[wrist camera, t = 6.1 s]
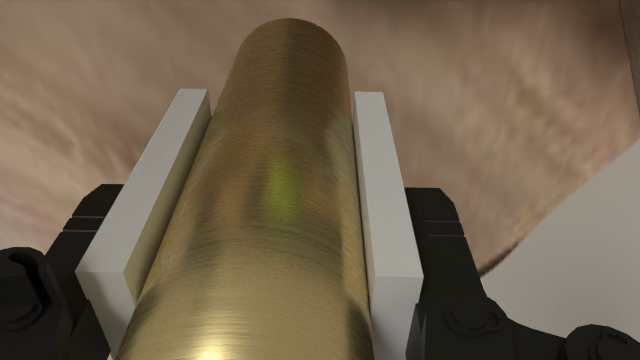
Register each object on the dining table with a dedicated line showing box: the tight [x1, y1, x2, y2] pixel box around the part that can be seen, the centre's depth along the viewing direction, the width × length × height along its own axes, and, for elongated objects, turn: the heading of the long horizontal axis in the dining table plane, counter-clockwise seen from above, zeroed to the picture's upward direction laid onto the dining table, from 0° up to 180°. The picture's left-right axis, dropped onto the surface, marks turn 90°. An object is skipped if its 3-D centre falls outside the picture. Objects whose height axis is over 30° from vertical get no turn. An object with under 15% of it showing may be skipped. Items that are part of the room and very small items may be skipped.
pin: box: [114, 18, 375, 360], centre depth 10 cm, size 5×5×16 cm
